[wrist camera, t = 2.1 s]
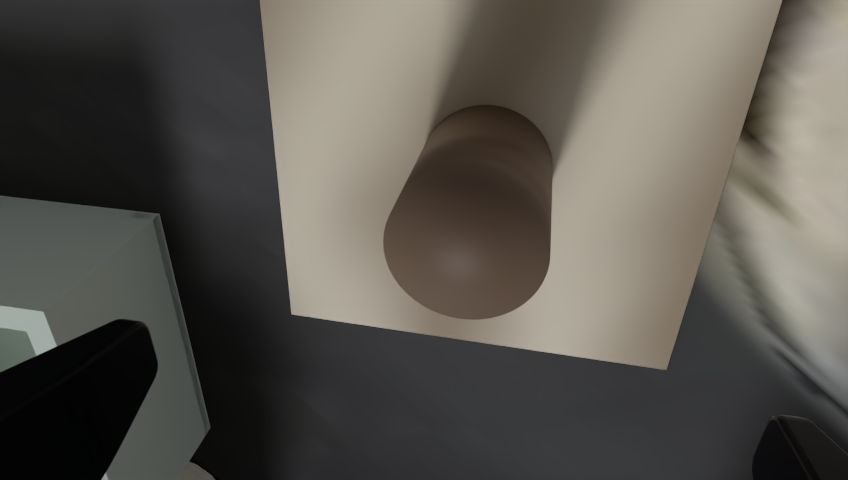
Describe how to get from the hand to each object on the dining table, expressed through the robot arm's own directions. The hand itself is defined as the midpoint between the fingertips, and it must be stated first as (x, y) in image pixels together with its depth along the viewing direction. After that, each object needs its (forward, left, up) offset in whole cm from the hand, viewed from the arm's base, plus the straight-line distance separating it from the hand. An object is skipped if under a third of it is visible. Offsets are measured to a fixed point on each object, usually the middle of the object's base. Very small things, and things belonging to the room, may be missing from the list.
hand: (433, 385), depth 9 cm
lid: (0, 0, -8) cm, 8 cm away
